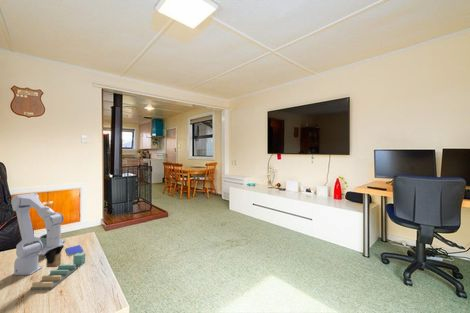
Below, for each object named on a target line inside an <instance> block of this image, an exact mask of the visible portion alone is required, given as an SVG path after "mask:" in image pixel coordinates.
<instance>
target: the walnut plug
mask: <svg viewBox="0 0 470 313" xmlns="http://www.w3.org/2000/svg"><path fill="white" fill-rule="evenodd" d="M61 255H62V253H58V254H55V256H54V262H53V263H52V264H48V261H47V260H46V268H58V266H59V265H62V259H61V257H62V256H61Z"/></svg>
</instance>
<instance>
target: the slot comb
mask: <svg viewBox="0 0 470 313" xmlns="http://www.w3.org/2000/svg"><path fill="white" fill-rule="evenodd" d="M77 270H78V268H77V265H76V264H73V263H72V264H60V265H59V266H57V269H51V270H50V271H49V272H50V273H49V274H48V275H42V276H41V280H39V281H34V282H32V285H31V287H30V290H31V291H34V290H35V291H36V290H39V291H40V290H41V291H42V290H53V289H54V288H56V287H57V286H58V285H60V284H61V283H62V282H63V281H64V280H65V279H67V278H68V277H69V276H70V275H72V274H73V273H74V272H77Z"/></svg>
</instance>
